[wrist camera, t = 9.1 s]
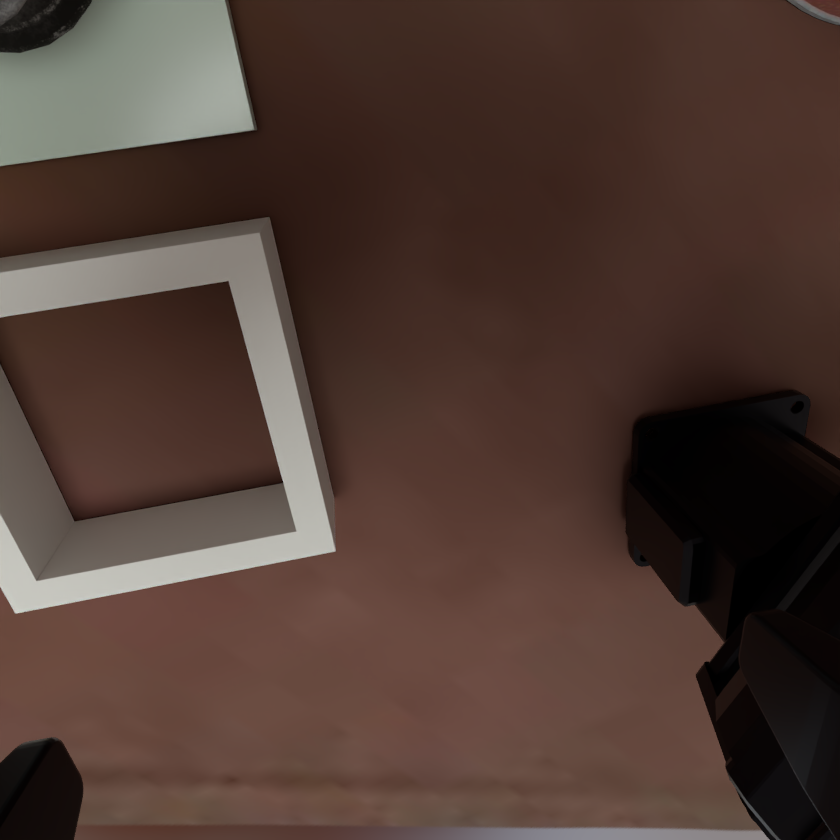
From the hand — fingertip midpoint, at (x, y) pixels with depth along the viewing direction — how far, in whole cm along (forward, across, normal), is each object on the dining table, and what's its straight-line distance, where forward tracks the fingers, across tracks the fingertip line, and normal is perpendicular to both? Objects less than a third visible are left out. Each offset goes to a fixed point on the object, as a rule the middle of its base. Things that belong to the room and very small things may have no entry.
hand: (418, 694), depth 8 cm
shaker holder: (+13, +7, 0) cm, 14 cm away
